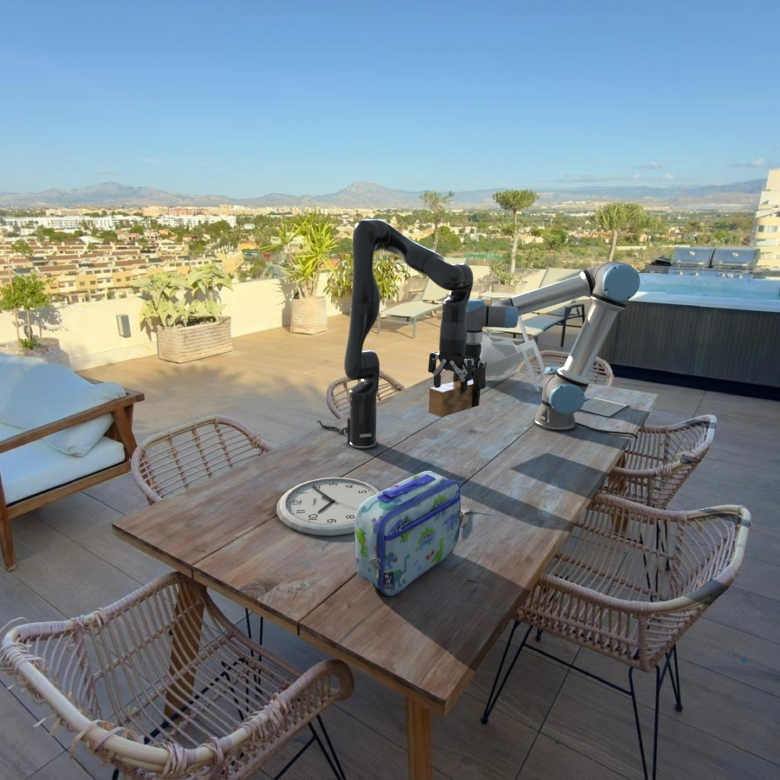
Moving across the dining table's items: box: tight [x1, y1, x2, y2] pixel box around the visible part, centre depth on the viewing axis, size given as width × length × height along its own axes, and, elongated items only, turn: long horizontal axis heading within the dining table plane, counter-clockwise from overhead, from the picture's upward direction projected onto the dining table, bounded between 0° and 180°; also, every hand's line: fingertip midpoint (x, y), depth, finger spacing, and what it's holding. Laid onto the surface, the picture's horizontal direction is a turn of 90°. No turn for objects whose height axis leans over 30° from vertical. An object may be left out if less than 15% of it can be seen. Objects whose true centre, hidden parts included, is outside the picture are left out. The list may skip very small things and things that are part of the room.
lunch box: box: [354, 470, 462, 597], centre depth 113 cm, size 26×11×21 cm, turn 134°
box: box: [428, 379, 481, 418], centre depth 189 cm, size 20×6×9 cm, turn 130°
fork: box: [460, 497, 473, 526], centre depth 137 cm, size 3×16×2 cm, turn 160°
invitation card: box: [579, 396, 629, 418], centre depth 226 cm, size 21×1×15 cm
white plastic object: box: [478, 315, 546, 392], centre depth 256 cm, size 37×45×31 cm
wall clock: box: [276, 476, 382, 537], centre depth 142 cm, size 30×2×30 cm
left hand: (450, 390), depth 154 cm, fingers open, 8 cm apart
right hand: (467, 403), depth 195 cm, fingers closed on box, 6 cm apart
